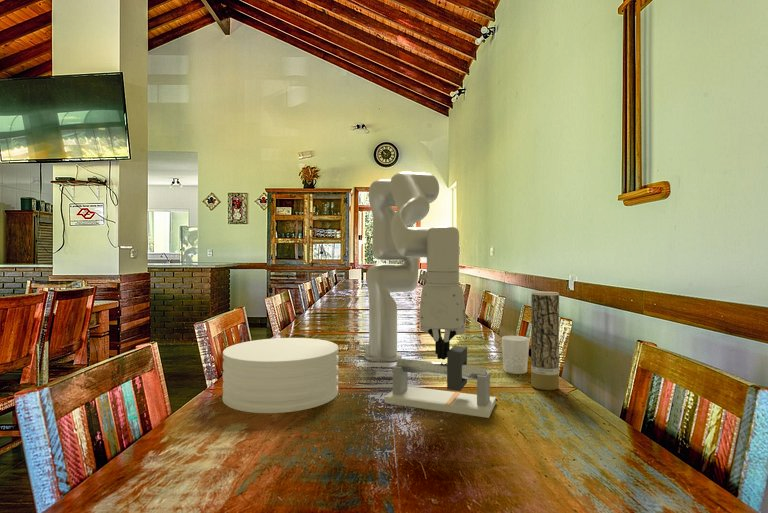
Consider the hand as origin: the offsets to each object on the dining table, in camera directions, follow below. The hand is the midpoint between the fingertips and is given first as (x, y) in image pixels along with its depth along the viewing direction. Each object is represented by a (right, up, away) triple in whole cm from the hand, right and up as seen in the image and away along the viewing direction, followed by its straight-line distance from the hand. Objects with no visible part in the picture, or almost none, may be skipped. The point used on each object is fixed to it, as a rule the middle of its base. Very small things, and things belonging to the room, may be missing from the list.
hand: (442, 357), depth 103 cm
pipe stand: (0, -11, 0) cm, 11 cm away
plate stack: (-39, -11, +8) cm, 41 cm away
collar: (+3, -6, -1) cm, 7 cm away
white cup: (+26, -11, +29) cm, 41 cm away
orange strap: (+2, -9, -1) cm, 10 cm away
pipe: (0, -4, 0) cm, 4 cm away
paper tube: (+29, -11, +13) cm, 33 cm away
